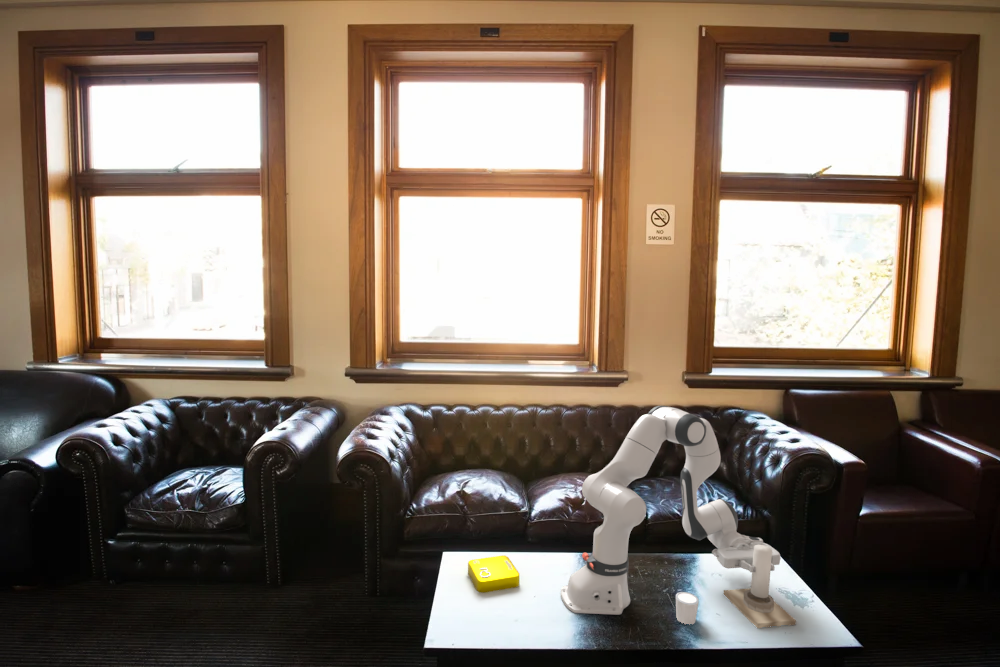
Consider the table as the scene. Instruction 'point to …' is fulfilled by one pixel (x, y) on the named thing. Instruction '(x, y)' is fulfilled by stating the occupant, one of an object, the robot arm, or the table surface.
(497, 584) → the element tile
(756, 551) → the paper roll
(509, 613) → the table surface
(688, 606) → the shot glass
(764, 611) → the roll holder
